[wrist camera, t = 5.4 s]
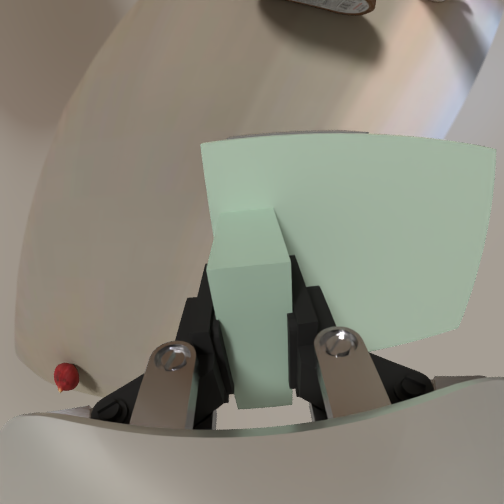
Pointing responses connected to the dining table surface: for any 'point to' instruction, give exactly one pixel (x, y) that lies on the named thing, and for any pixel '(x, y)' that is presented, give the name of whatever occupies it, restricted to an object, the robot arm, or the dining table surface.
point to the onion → (66, 377)
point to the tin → (342, 5)
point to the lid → (340, 241)
